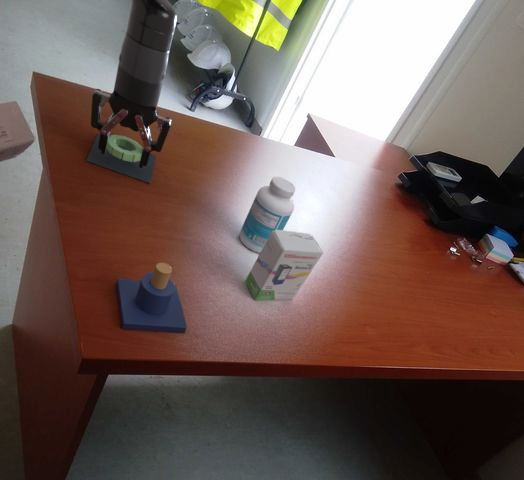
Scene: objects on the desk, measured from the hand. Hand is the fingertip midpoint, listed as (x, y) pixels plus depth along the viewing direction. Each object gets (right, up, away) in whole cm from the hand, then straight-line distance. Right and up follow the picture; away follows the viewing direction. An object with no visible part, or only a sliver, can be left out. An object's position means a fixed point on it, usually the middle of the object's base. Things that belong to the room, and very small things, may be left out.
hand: (122, 158), depth 88 cm
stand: (+10, -31, -21) cm, 39 cm away
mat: (-1, +1, +3) cm, 3 cm away
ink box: (+28, -27, -6) cm, 39 cm away
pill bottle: (+26, -16, +3) cm, 30 cm away
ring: (+1, +1, -1) cm, 2 cm away
